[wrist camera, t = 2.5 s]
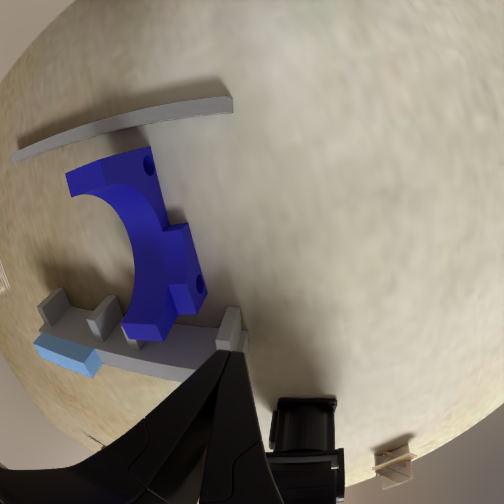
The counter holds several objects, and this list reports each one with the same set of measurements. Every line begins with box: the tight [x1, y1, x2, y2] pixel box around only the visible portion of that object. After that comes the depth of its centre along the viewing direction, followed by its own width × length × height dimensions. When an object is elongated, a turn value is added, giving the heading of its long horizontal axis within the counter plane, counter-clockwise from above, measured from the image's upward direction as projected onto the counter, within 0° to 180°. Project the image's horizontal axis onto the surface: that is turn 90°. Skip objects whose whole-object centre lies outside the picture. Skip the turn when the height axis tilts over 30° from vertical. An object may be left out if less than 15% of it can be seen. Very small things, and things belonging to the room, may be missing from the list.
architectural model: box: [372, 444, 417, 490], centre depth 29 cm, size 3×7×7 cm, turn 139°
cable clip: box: [65, 146, 208, 342], centre depth 18 cm, size 12×4×6 cm, turn 10°
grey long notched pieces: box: [11, 96, 249, 382], centre depth 18 cm, size 22×20×7 cm
